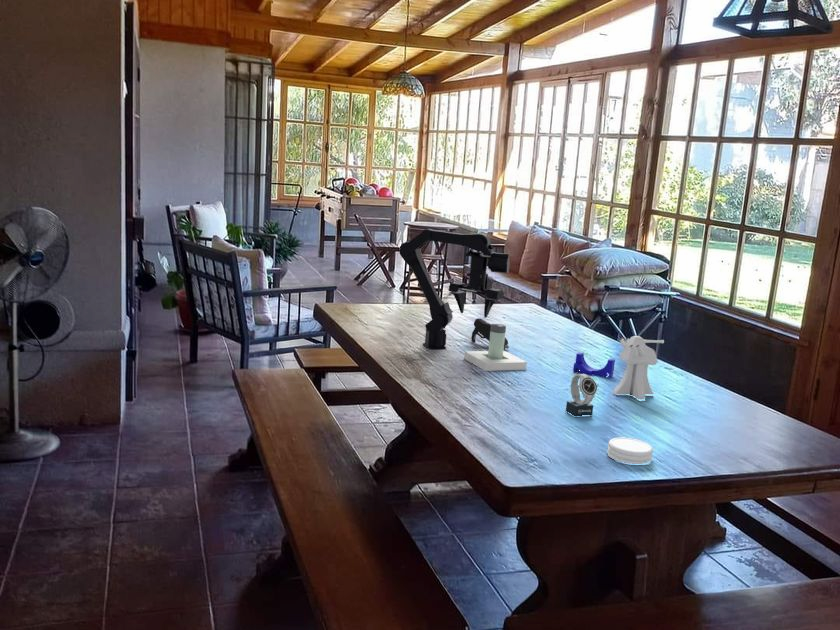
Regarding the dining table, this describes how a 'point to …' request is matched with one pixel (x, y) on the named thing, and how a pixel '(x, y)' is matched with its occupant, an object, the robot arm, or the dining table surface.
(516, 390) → the dining table surface
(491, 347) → the capped bottle
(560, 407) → the dining table surface
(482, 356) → the housing
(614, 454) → the coaster
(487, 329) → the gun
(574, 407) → the watch
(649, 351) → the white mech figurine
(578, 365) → the blue cradle stand
